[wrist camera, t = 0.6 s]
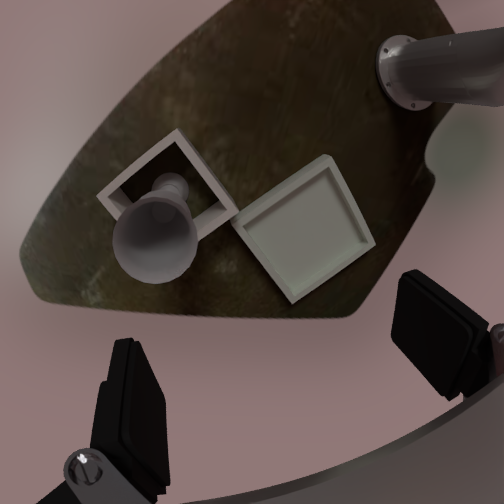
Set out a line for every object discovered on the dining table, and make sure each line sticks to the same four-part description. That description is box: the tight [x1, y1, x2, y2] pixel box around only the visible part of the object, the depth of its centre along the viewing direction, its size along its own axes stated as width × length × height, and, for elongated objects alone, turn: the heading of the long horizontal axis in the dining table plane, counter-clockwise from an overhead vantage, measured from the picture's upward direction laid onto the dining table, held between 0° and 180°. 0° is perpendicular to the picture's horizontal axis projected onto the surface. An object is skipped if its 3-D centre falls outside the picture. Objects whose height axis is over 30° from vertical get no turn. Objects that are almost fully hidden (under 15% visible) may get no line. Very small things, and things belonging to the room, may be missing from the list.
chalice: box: [113, 172, 198, 284], centre depth 31 cm, size 7×7×18 cm
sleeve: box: [97, 128, 239, 241], centre depth 37 cm, size 12×12×6 cm
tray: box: [230, 154, 376, 304], centre depth 44 cm, size 16×16×2 cm
